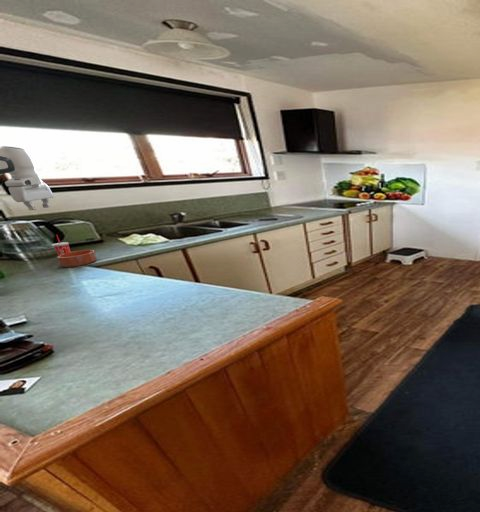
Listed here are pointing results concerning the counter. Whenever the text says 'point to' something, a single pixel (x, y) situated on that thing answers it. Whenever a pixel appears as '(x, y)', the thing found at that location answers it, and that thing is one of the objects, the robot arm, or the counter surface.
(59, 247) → the beverage cup
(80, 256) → the bowl
